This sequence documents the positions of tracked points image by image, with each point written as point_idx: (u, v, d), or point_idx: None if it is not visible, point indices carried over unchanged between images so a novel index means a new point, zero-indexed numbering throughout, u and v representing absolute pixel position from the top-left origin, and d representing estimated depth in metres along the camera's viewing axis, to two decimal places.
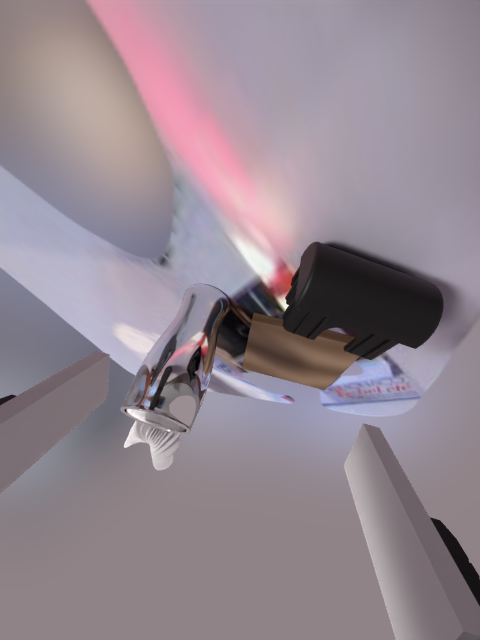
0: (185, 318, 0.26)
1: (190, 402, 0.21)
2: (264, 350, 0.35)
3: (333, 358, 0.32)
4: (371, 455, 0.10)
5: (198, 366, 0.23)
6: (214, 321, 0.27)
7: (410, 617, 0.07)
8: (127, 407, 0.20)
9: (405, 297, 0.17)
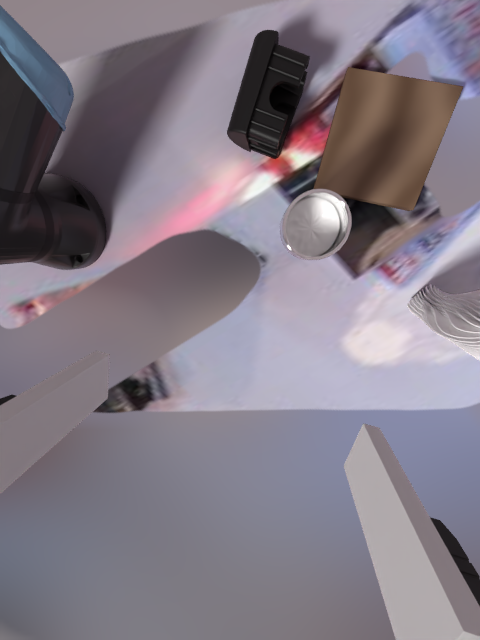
0: None
1: None
2: (365, 178, 0.34)
3: (371, 96, 0.31)
4: (372, 455, 0.10)
5: None
6: None
7: (410, 617, 0.07)
8: (284, 239, 0.25)
9: (246, 66, 0.29)
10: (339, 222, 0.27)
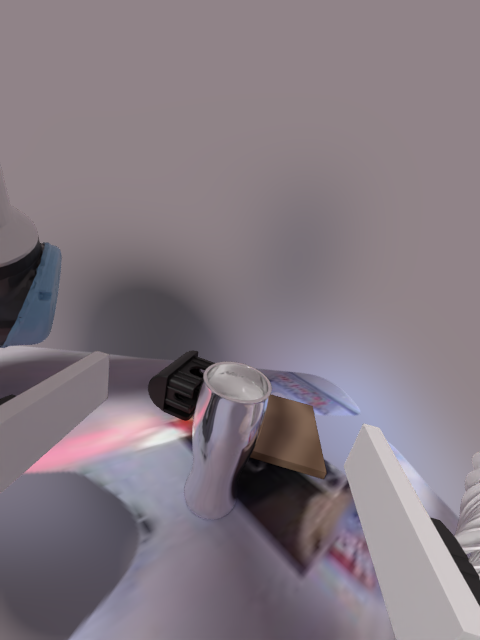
0: (193, 457, 0.26)
1: None
2: (270, 441, 0.35)
3: None
4: (371, 455, 0.10)
5: None
6: None
7: (410, 617, 0.07)
8: (205, 383, 0.21)
9: None
10: None
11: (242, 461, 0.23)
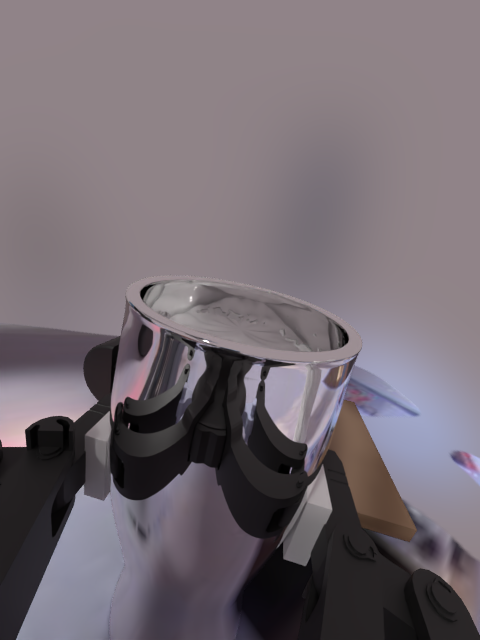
0: None
1: None
2: None
3: None
4: None
5: None
6: None
7: None
8: (127, 295, 0.06)
9: None
10: None
11: (261, 567, 0.07)
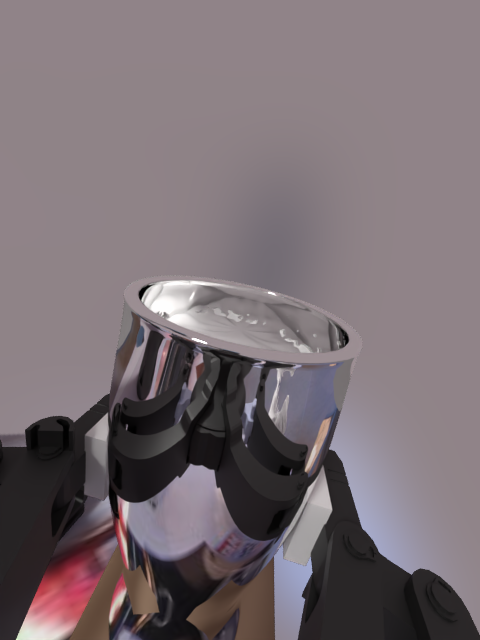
0: None
1: None
2: None
3: None
4: None
5: None
6: None
7: None
8: (125, 295, 0.06)
9: None
10: None
11: (261, 569, 0.07)
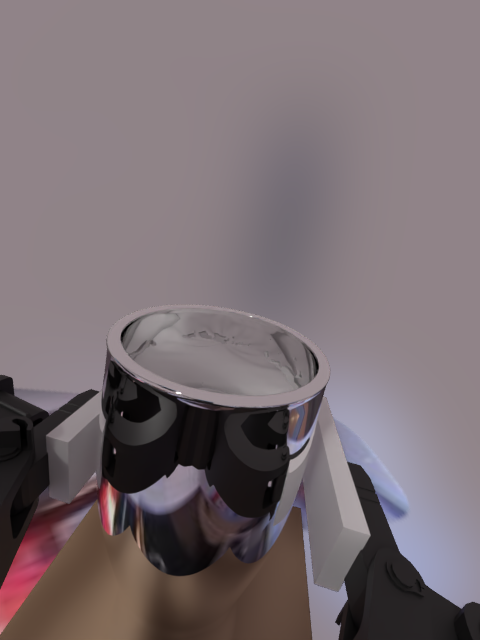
0: None
1: None
2: None
3: None
4: None
5: None
6: None
7: (319, 533, 0.08)
8: (107, 339, 0.06)
9: None
10: None
11: (244, 587, 0.07)
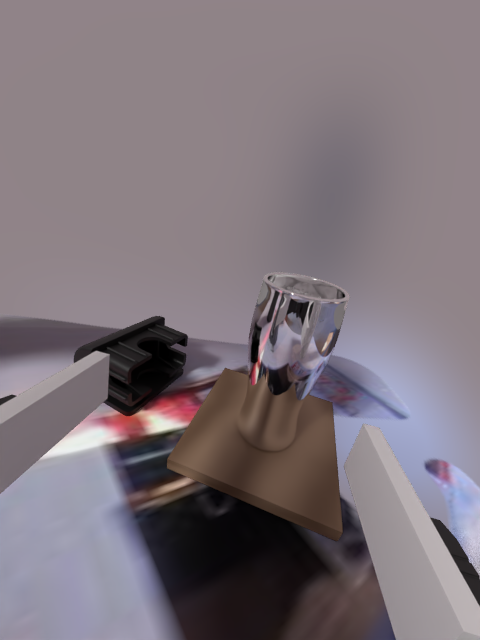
0: (248, 383, 0.23)
1: None
2: (249, 460, 0.21)
3: None
4: (372, 455, 0.10)
5: None
6: None
7: (410, 617, 0.07)
8: (267, 282, 0.17)
9: None
10: None
11: (309, 383, 0.19)
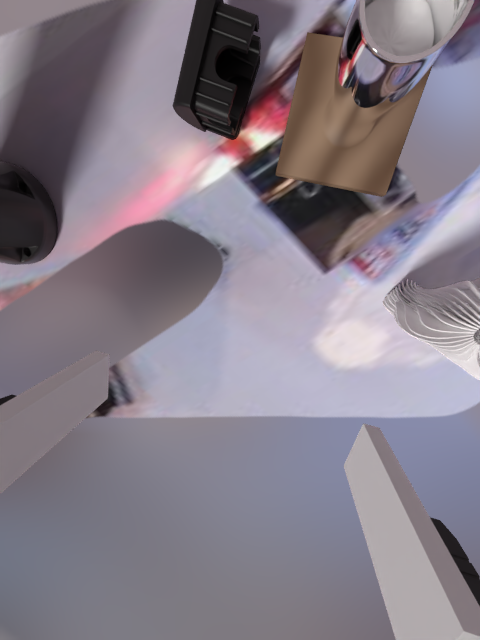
0: (334, 98, 0.24)
1: None
2: (331, 159, 0.30)
3: (335, 65, 0.27)
4: (372, 455, 0.10)
5: None
6: None
7: (410, 617, 0.07)
8: (361, 27, 0.15)
9: None
10: (433, 32, 0.18)
11: None
